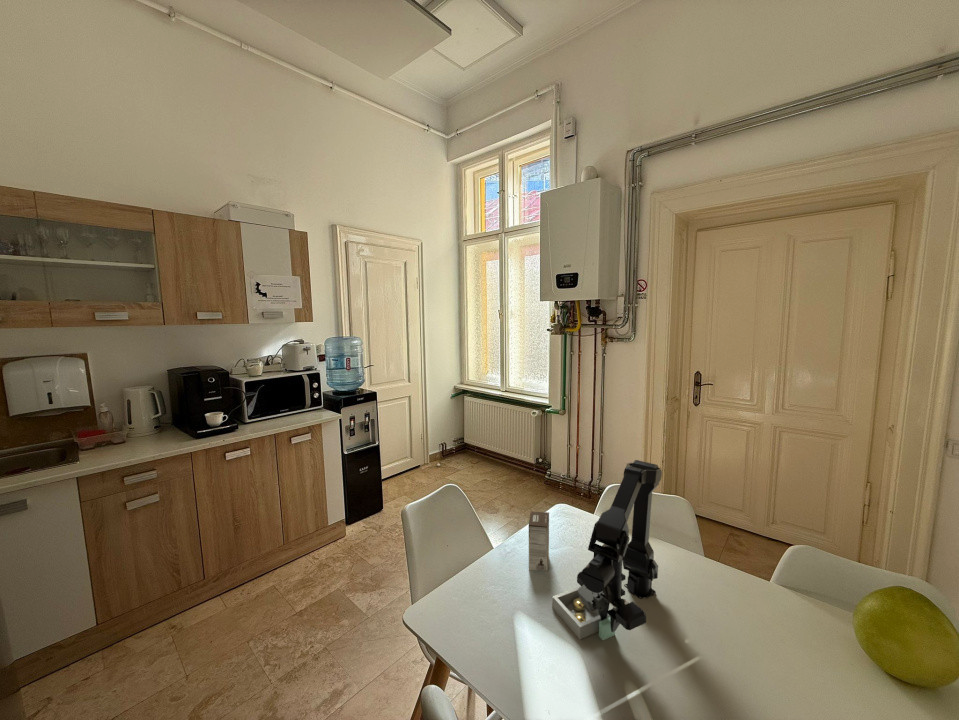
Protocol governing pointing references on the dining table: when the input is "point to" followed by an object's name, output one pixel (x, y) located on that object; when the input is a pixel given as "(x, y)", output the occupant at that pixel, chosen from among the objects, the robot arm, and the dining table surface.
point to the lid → (605, 629)
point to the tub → (566, 612)
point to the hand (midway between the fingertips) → (608, 626)
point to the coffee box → (539, 541)
